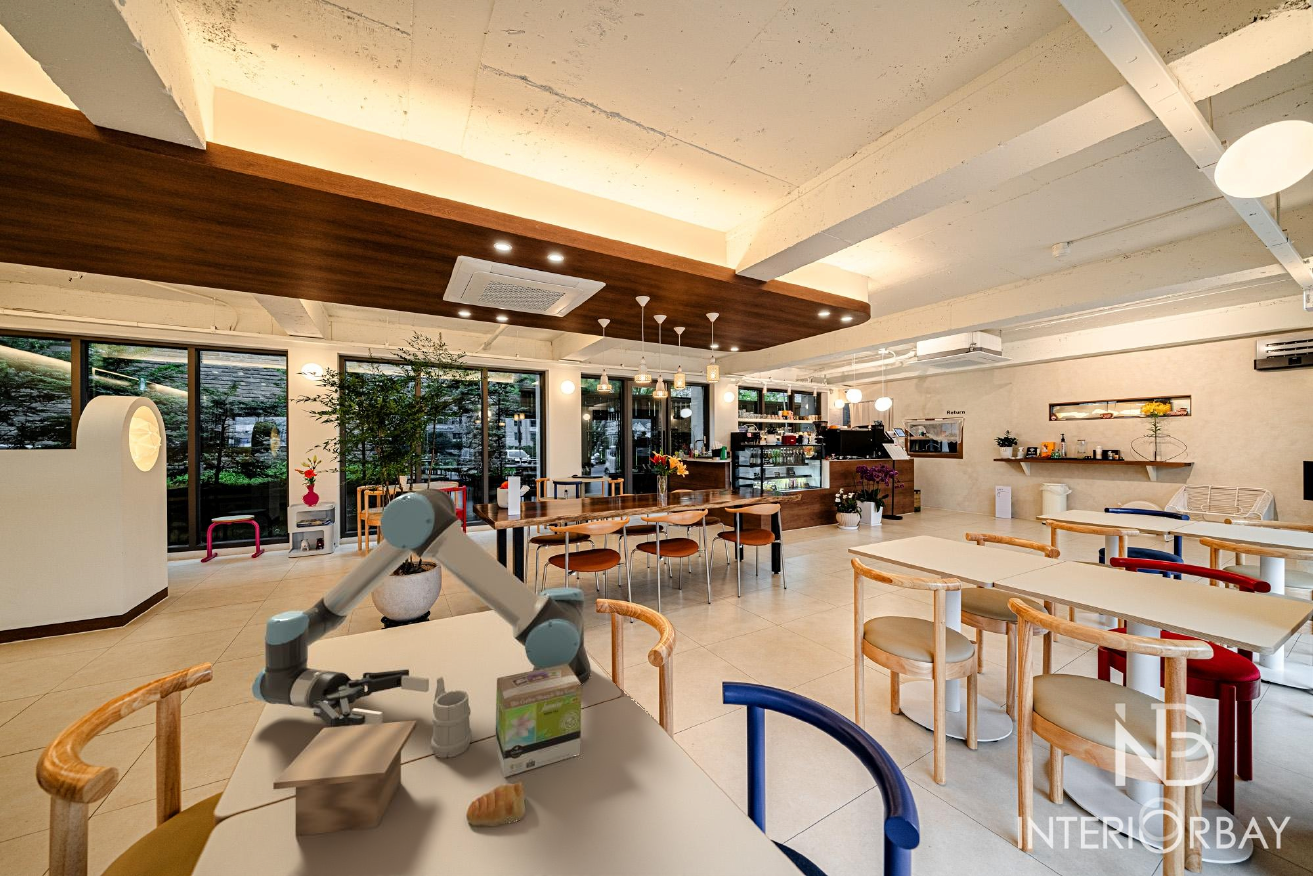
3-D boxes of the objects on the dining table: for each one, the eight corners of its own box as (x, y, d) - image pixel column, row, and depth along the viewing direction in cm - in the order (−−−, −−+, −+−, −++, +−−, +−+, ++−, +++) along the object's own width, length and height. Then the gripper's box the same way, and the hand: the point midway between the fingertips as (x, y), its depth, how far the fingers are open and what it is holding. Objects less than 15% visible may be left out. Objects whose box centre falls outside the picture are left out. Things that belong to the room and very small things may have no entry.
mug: (440, 764, 91) (440, 702, 91) (417, 738, 100) (417, 681, 100) (478, 746, 97) (478, 687, 97) (453, 722, 105) (453, 668, 105)
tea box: (503, 781, 87) (503, 700, 87) (495, 749, 96) (495, 676, 96) (582, 756, 94) (582, 681, 94) (567, 728, 103) (567, 660, 103)
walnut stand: (416, 773, 89) (416, 720, 89) (384, 835, 75) (384, 772, 75) (323, 782, 87) (323, 727, 87) (273, 848, 73) (273, 782, 73)
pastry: (466, 838, 75) (466, 814, 75) (466, 808, 81) (466, 785, 81) (527, 821, 78) (527, 798, 78) (523, 793, 84) (523, 771, 84)
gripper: (367, 679, 117) (443, 689, 112) (264, 742, 92) (357, 758, 88) (367, 648, 117) (443, 657, 112) (265, 703, 92) (357, 717, 88)
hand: (406, 701), depth 100 cm, fingers open, 13 cm apart
